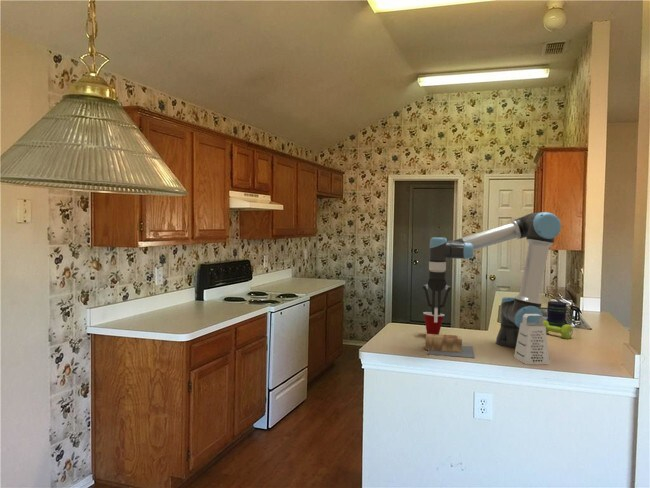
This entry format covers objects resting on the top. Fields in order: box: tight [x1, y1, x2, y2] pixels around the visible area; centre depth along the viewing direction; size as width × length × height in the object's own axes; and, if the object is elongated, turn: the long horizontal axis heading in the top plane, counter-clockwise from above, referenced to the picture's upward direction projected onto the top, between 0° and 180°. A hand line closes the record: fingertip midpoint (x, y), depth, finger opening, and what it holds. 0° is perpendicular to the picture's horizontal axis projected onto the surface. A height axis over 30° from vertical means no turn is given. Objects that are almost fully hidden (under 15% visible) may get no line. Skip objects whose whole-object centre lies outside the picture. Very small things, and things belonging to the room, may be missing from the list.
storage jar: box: [546, 300, 568, 328], centre depth 276 cm, size 10×10×15 cm
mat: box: [427, 345, 476, 359], centre depth 225 cm, size 20×20×1 cm
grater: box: [513, 314, 550, 365], centre depth 211 cm, size 10×10×20 cm
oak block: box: [424, 333, 463, 352], centre depth 226 cm, size 6×6×16 cm
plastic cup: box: [422, 311, 445, 335], centre depth 253 cm, size 11×11×12 cm
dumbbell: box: [543, 319, 574, 340], centre depth 260 cm, size 16×8×7 cm, turn 37°
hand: (435, 321), depth 226 cm, fingers closed
